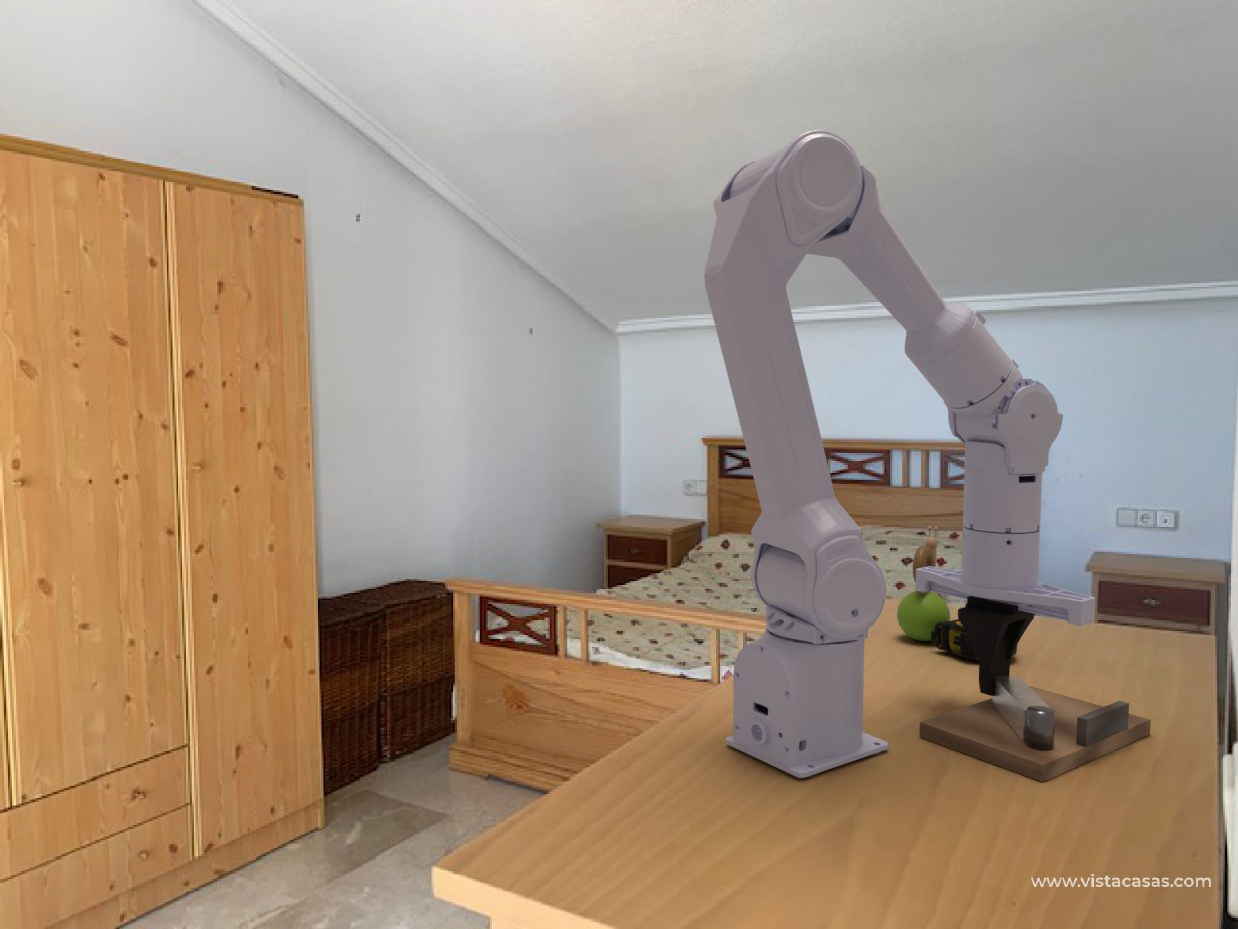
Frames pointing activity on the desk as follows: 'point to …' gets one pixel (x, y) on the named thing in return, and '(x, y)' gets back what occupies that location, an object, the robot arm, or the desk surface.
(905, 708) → the desk surface
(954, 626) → the tape measure
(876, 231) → the robot arm
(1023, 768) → the walnut board
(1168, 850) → the desk surface
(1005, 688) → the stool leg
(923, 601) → the snail figurine
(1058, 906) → the desk surface
